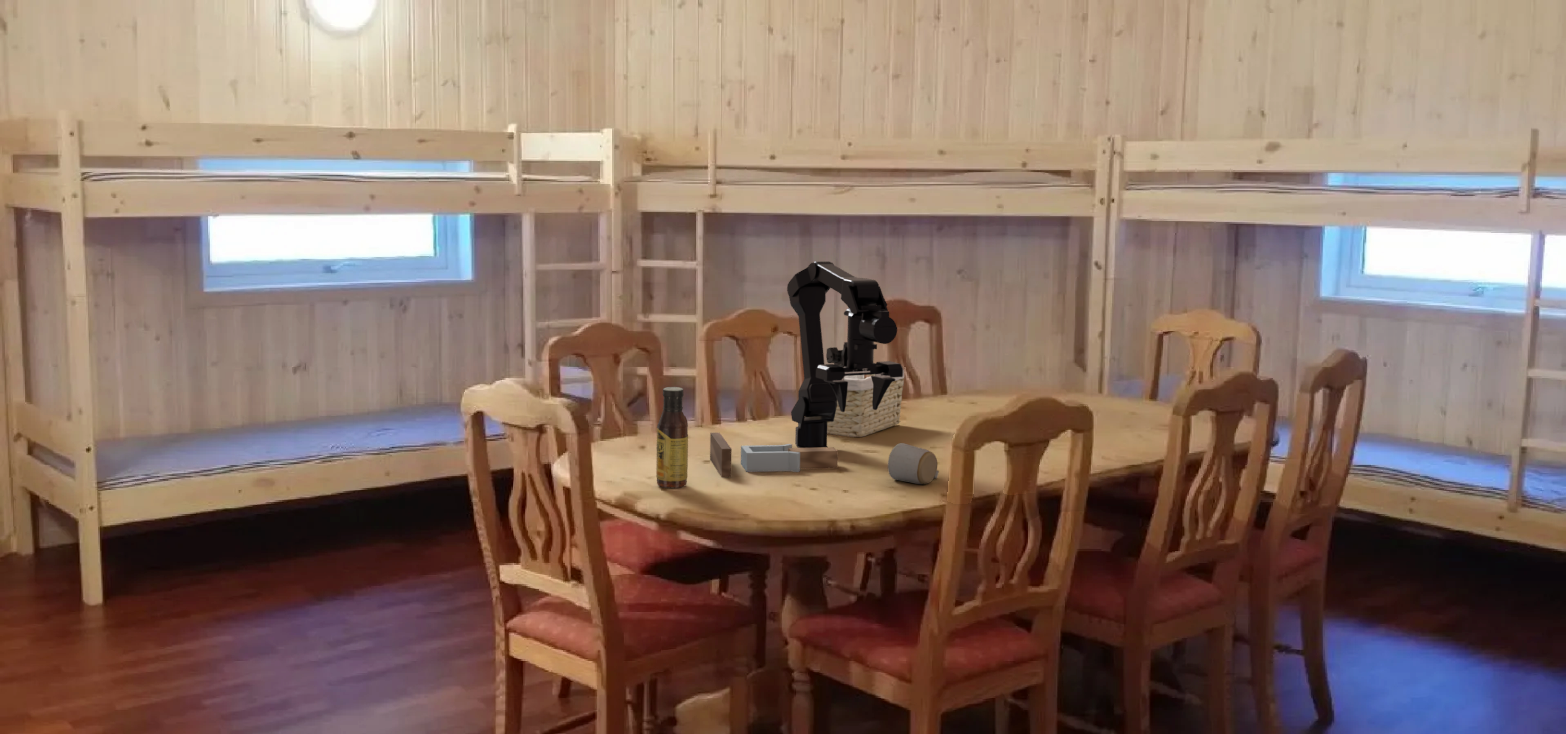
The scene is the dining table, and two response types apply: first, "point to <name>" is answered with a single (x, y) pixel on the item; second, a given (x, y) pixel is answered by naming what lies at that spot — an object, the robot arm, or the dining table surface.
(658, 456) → the sauce bottle
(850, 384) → the storage basket
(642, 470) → the dining table surface
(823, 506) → the dining table surface
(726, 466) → the backstop
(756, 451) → the cradle
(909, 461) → the ceramic mug
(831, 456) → the rectangular wooden block
